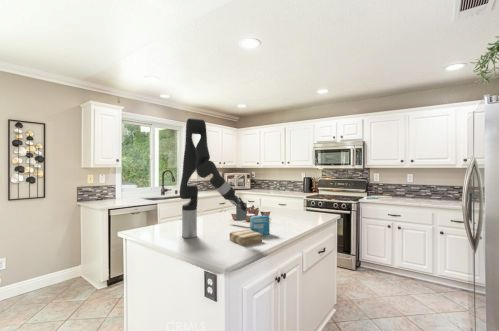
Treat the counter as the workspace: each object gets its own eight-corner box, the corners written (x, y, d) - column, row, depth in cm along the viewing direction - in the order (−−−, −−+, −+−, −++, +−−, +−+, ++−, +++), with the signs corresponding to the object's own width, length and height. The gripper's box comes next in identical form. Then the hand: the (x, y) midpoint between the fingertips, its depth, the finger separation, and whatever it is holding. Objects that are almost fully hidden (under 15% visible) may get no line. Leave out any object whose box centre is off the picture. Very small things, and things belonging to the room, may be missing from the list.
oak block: (229, 240, 162) (229, 232, 162) (248, 237, 170) (248, 229, 170) (242, 246, 151) (242, 237, 151) (262, 242, 159) (262, 234, 159)
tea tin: (236, 219, 157) (236, 202, 157) (242, 218, 159) (242, 202, 159) (239, 220, 153) (240, 203, 153) (246, 220, 155) (246, 203, 155)
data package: (252, 236, 172) (252, 217, 172) (250, 234, 176) (250, 216, 176) (269, 234, 176) (269, 216, 176) (267, 232, 180) (267, 215, 180)
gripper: (235, 185, 146) (253, 206, 152) (223, 183, 158) (241, 202, 164) (226, 196, 143) (245, 216, 149) (215, 193, 155) (233, 212, 162)
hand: (243, 209), depth 157 cm, fingers closed on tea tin, 4 cm apart
